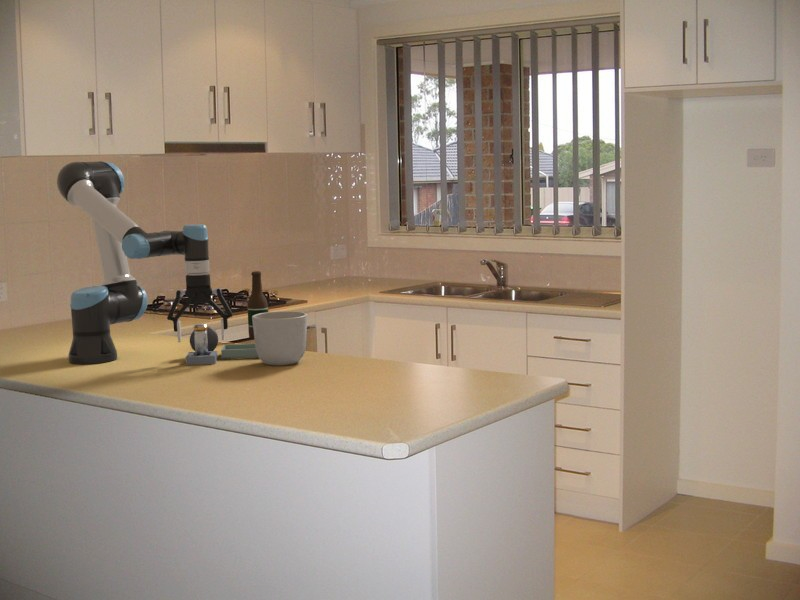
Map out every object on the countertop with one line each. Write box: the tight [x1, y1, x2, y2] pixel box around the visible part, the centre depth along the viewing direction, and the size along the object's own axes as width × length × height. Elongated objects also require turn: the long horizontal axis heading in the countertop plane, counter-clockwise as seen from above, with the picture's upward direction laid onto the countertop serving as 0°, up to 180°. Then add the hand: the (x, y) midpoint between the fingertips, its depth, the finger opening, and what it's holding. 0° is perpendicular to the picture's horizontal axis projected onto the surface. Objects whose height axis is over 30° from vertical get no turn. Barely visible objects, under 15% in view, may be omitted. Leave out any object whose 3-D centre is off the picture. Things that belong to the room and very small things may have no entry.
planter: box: [252, 310, 308, 367], centre depth 314 cm, size 17×17×15 cm
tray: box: [220, 343, 260, 360], centre depth 329 cm, size 14×10×3 cm
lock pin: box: [193, 323, 208, 356], centre depth 320 cm, size 4×4×12 cm
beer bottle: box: [247, 270, 269, 340], centre depth 363 cm, size 8×8×24 cm
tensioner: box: [185, 325, 219, 366], centre depth 324 cm, size 9×17×10 cm, turn 5°
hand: (201, 340), depth 320 cm, fingers open, 13 cm apart
